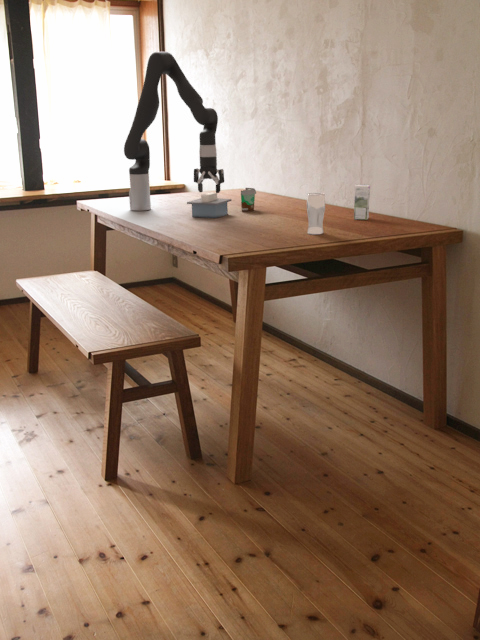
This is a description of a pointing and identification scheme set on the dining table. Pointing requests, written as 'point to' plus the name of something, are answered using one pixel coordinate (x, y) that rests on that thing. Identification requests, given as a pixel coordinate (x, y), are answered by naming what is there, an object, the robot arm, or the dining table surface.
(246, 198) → the food container
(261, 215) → the dining table surface
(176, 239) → the dining table surface
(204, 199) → the lid
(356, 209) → the syrup box
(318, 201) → the beer glass
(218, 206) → the dish
